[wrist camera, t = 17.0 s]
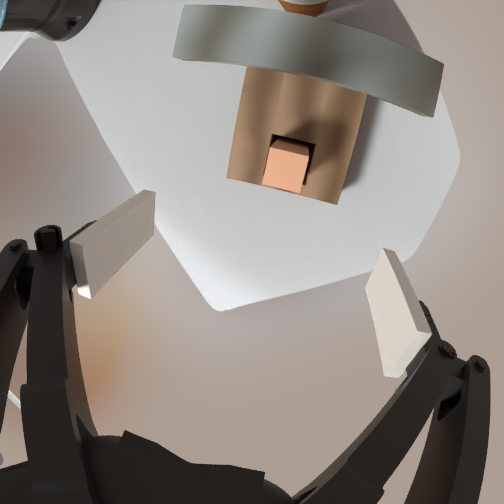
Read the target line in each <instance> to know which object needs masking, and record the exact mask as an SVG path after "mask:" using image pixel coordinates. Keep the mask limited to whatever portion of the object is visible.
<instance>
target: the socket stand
mask: <svg viewBox="0 0 504 504" xmlns="http://www.w3.org/2000/svg"><path fill="white" fill-rule="evenodd" d="M173 57H175V58H178V59H181V60H185V61H202V62H215V63H225V64H234V65H242V66H247V69H246V74H245V79H244V84H243V89H242V94H241V99H240V104H239V110H238V115H237V120H236V126H235V131H234V137H233V143H232V148H231V154H230V160H229V166H228V172H227V178H230V179H235V180H239V181H244V182H248V183H253V184H257V185H261V186H266V187H270V188H274V189H278V190H282V191H286V192H290V193H294V194H298V195H302V196H306V197H310V198H313V199H317V200H321V201H324V202H328V203H332V204H335V205H337V203H338V200H339V197H340V194H341V190H342V187H343V184H344V180H345V177H346V174H347V170H348V167H349V163H350V159H351V156H352V152H353V149H354V145H355V141H356V137H357V134H358V130H359V126H360V122H361V118H362V114H363V110H364V106H365V102H366V97H367V95H370V96H373V97H376V98H378V99H381V100H384V101H386V102H389V103H392V104H394V105H397V106H399V107H402V108H404V109H407V110H409V111H412V112H414V113H416V114H418V115H421V116H426V117H433V116H434V112H435V108H436V103H437V99H438V94H439V89H440V84H441V79H442V73H443V68H444V64H443V63H441V62H439V61H437V60H435V59H433V58H431V57H429V56H427V55H425V54H423V53H420V52H418V51H416V50H414V49H412V48H409V47H407V46H405V45H402V44H400V43H397V42H395V41H392V40H390V39H387V38H384V37H382V36H379V35H376V34H373V33H370V32H367V31H364V30H361V29H358V28H355V27H351V26H348V25H344V24H341V23H337V22H333V21H329V20H325V19H321V18H317V17H312V16H307V15H302V14H297V13H291V12H285V11H279V10H272V9H264V8H255V7H244V6H229V5H184V8H183V12H182V16H181V20H180V24H179V28H178V33H177V37H176V42H175V47H174V52H173ZM275 134H276V135H280V136H285V137H289V138H293V139H297V140H301V141H305V142H309V143H313V144H314V145H313V149H312V153H311V157H310V161H309V165H308V169H307V173H306V177H304V179H303V183H302V187H301V191H300V193H297V192H293V191H289V190H285V189H281V188H276V187H272V186H268V185H264V184H262V183H263V178H264V173H265V169H266V164H267V159H268V154H269V150H270V147H271V146H272V144H273V140H274V135H275Z"/></svg>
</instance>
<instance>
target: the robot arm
mask: <svg viewBox="0 0 504 504" xmlns="http://www.w3.org/2000/svg"><path fill="white" fill-rule="evenodd" d="M97 4H98V0H0V32H5V31H30V32H36V33H37V34H39V35H41V36H43V37H44V38H46V39H48V40H51V41H65V40H68V39H70V38H72V37H73V36H75V35H76V34H77V33H79V32H80V31H81V30H82V29H83V28H84V26H85V25H86V24H87V23H88V21H89V20H90V18H91V17H92V15H93V13H94V11H95V9H96V6H97ZM155 193H156V192H153V191H148V190H143V191H141V192H140V193H138V194H137V195H135V196H133V197H132V198H130V199H129V200H127V201H126V202H124V203H123V204H121V205H120V206H118V207H117V208H115V209H114V210H112V211H111V212H109V213H108V214H106V215H105V216H103V217H102V218H100V219H99V220H96V221H93V222H90V223H88V224H86V225H85V226H83V227H82V228H81V229H79V230H78V231H76V233H74V234H72V235H71V236H69V237H68V238H67V239H65V240H64V241H63V240H62V233H61V228H60V227H59V226H56V225H47V226H44V227H41V228H39V229H38V230H36V231H35V233H34V238H35V243H36V248H37V250H28V245H27V242H26V241H25V240H22V239H15V240H12V241H11V242H9V243H8V244H7V245H6V246H5V247H4V248H3V250H2V251H1V253H0V433H1V429H2V424H3V419H4V412H5V406H6V401H7V395H8V390H9V386H10V381H11V377H12V372H13V368H14V364H15V361H16V357H17V353H18V349H19V346H20V343H21V340H22V336H23V333H24V330H25V327H26V324H27V321H28V327H27V383H26V384H24V385H22V386H21V388H20V401H21V413H22V423H23V432H24V439H25V445H26V451H27V457H28V461H25V462H22V463H19V464H16V465H12V466H9V467H5V468H2V469H0V504H377V503H378V501H379V500H380V499H381V497H382V496H383V494H384V490H383V489H382V488H383V486H384V484H385V483H386V481H387V480H388V479H389V477H390V476H391V475H392V474H393V472H394V471H395V469H396V468H397V467H398V465H399V464H400V462H401V461H402V459H403V458H404V457H405V455H406V454H407V452H408V450H409V449H410V447H411V446H412V444H413V443H414V441H415V440H416V438H417V436H418V435H419V433H420V431H421V430H422V428H423V426H424V424H425V423H426V421H427V419H428V418H429V416H430V414H431V412H432V410H433V408H434V412H433V416H432V420H431V425H430V428H429V432H428V436H427V440H426V443H425V447H424V450H423V453H422V457H421V460H420V463H419V466H418V469H417V472H416V475H415V478H414V480H413V483H412V485H411V488H410V491H409V493H408V495H407V498H406V500H405V503H404V504H477V503H478V499H479V494H480V490H481V486H482V481H483V475H484V469H485V463H486V455H487V448H488V437H489V424H490V369H489V366H488V364H487V362H486V361H485V360H484V359H483V358H481V357H480V356H477V355H473V356H471V357H470V359H469V360H468V361H467V362H466V361H464V360H461V359H459V358H457V354H456V351H455V349H454V348H453V347H452V346H451V345H450V344H449V343H448V342H446V341H444V340H441V338H440V335H439V333H438V331H437V328H436V326H435V323H433V322H434V321H433V319H432V317H431V314H430V312H429V310H428V308H427V307H426V306H425V305H424V303H423V302H422V301H419V300H418V299H417V296H416V294H415V292H414V290H413V288H412V286H411V283H410V281H409V279H408V277H407V275H406V273H405V271H404V269H403V267H402V265H401V263H400V261H399V259H398V257H397V255H396V253H395V251H392V250H388V249H385V248H383V249H382V252H381V254H380V256H379V259H378V261H377V263H376V265H375V268H374V270H373V272H372V274H371V277H370V279H369V281H368V283H367V285H366V287H365V288H366V292H367V296H368V300H369V304H370V309H371V313H372V317H373V322H374V326H375V330H376V335H377V340H378V345H379V350H380V355H381V360H382V366H383V371H384V376H388V377H397V378H398V377H400V375H401V374H402V373H403V372H404V371H405V369H406V371H407V377H406V378H405V380H404V381H403V382H402V383H401V384H400V385H399V386H398V388H397V389H396V390H395V393H394V394H393V396H392V397H391V398H390V399H389V401H388V402H387V403H386V405H385V406H384V407H383V408H382V410H381V411H380V412H379V413H378V414H377V416H376V417H375V418H374V419H373V420H372V422H371V423H370V424H369V425H368V426H367V427H366V428H365V430H364V431H363V432H362V433H361V434H360V435H359V436H358V437H357V439H356V440H355V441H354V442H353V443H352V444H351V445H350V446H349V447H348V448H347V449H346V450H345V451H344V452H343V453H342V454H341V455H340V456H339V457H338V458H337V459H336V460H335V461H334V462H333V463H332V464H331V465H330V466H329V467H328V468H327V469H326V470H325V471H324V472H323V473H321V474H320V475H319V476H318V477H317V478H316V479H315V480H314V481H312V482H311V483H310V484H309V485H307V486H306V487H305V488H303V489H302V490H301V491H299V492H298V493H297V494H296V495H294V496H293V497H290V496H289V495H288V494H287V493H286V492H285V491H284V490H283V489H281V488H280V487H278V486H277V485H275V484H273V483H271V482H270V481H267V480H265V479H264V475H265V472H262V471H257V470H251V469H246V468H241V467H237V466H232V465H212V464H194V463H189V462H187V461H185V460H183V459H182V458H180V457H178V456H177V455H175V454H173V453H172V452H170V451H169V450H167V449H165V448H164V447H162V446H161V445H159V444H158V443H155V442H153V441H150V440H148V439H145V438H142V437H140V436H138V435H135V434H133V433H130V432H128V431H126V430H125V431H124V433H123V435H122V437H120V436H111V435H107V436H98V433H97V431H96V428H95V426H94V424H93V421H92V417H91V413H90V409H89V405H88V401H87V396H86V391H85V386H84V381H83V376H82V371H81V365H80V358H79V352H78V344H77V335H76V327H75V315H74V302H73V292H72V287H73V286H75V284H77V288H78V292H79V294H81V295H83V296H85V297H88V298H90V299H92V298H93V297H94V295H95V294H96V293H97V292H98V291H99V290H100V289H101V288H102V287H103V286H104V285H105V284H106V283H107V281H108V280H109V279H110V278H111V277H112V276H113V275H114V274H115V273H116V272H117V271H118V270H119V269H120V268H121V267H122V266H123V265H124V264H125V263H126V262H127V261H128V260H129V259H130V258H131V256H133V254H135V252H136V251H138V249H140V248H141V247H142V246H143V244H145V243H146V242H147V241H148V240H149V239H150V238H151V237H152V236H153V235H154V213H155ZM434 406H435V407H434ZM2 463H3V456H2V454H1V453H0V465H2Z"/></svg>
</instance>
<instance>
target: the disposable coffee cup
mask: <svg viewBox="0 0 504 504" xmlns="http://www.w3.org/2000/svg"><path fill="white" fill-rule="evenodd" d="M278 1H279V2H280V3H281V5H282V6H283V8H284V9H285V11H286V12H291V13H297V14H302V15H307V16H312V17H316V16H317V15H319V14H320V13H321V12H322V10H323V9H324V7H325V6H326V5H327V3H328V1H329V0H278Z"/></svg>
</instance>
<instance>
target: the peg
mask: <svg viewBox="0 0 504 504" xmlns="http://www.w3.org/2000/svg"><path fill="white" fill-rule="evenodd" d="M308 159H309V151H308V144H306V143H302V142H298V141H294V140H289V139H285V138H281V137H279V138H278V139H277V140H276V141H275V142H274V143H273V144H272V146H271V147H270V150H269V154H268V159H267V164H266V169H265V173H264V178H263V183H262V184H264V185H268V186H272V187H276V188H281V189H285V190H289V191H293V192H297V193H300V191H301V187H302V183H303V179H304V175H305V171H306V167H307V163H308Z"/></svg>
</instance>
